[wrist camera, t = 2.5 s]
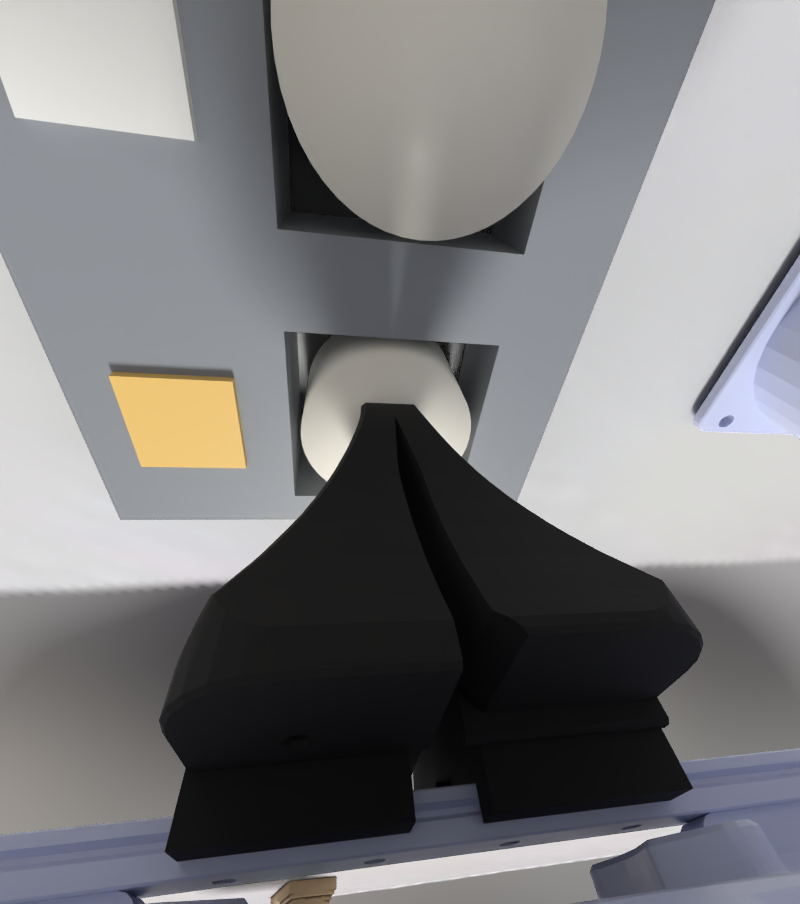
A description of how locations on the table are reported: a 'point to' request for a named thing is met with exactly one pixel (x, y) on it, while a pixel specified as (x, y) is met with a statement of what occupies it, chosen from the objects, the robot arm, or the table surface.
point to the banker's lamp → (306, 892)
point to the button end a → (377, 393)
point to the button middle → (435, 102)
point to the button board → (278, 247)
